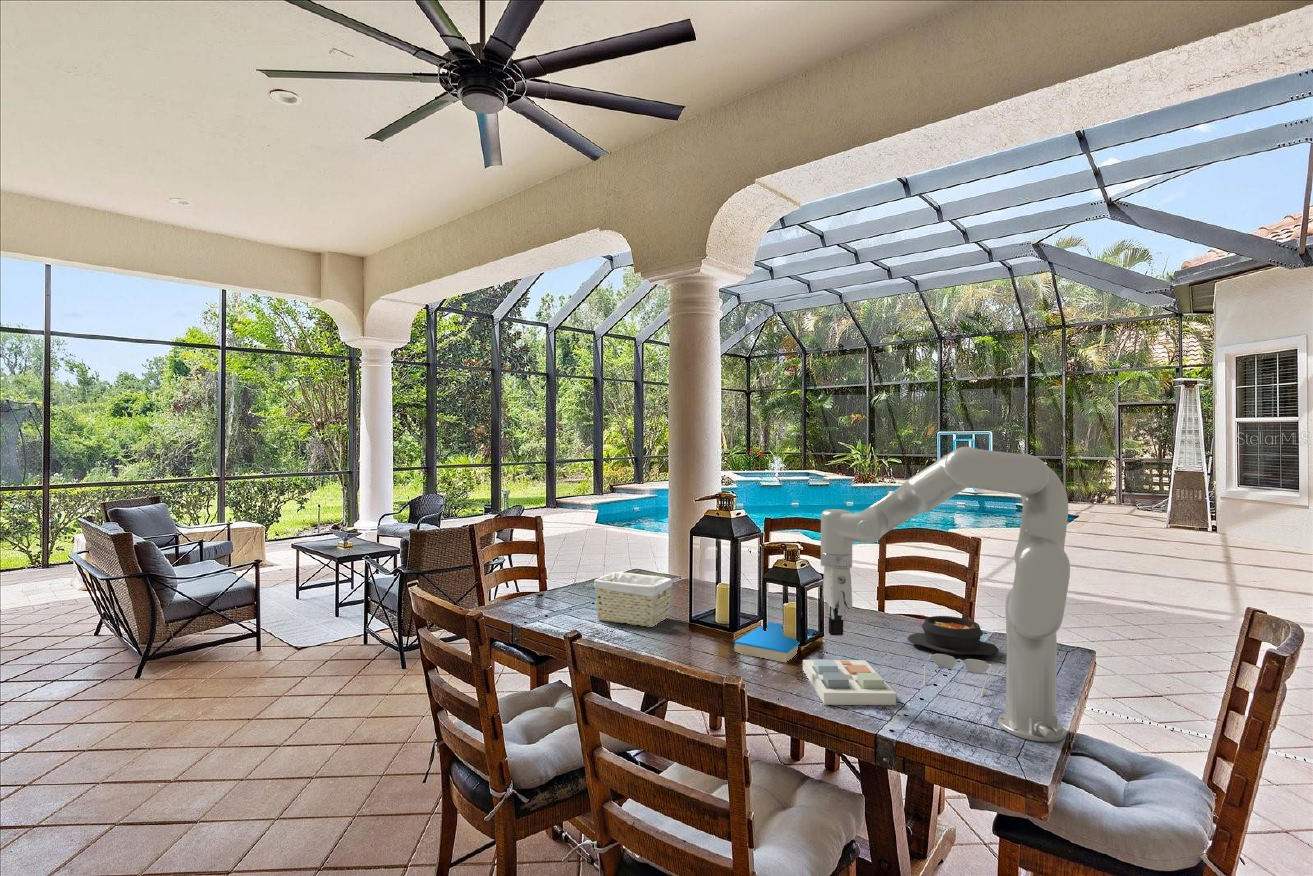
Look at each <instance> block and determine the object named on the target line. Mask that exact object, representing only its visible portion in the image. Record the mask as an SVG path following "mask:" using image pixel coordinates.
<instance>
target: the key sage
mask: <svg viewBox="0 0 1313 876" xmlns="http://www.w3.org/2000/svg"><path fill="white" fill-rule="evenodd" d="M884 681H885V680H884V678H883V677H882V676H881V675H880V674H879V673H878V672H877V673H857V683H858V684H859V686H860V687H861V688H862V689H884Z"/></svg>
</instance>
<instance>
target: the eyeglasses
mask: <svg viewBox="0 0 1313 876" xmlns="http://www.w3.org/2000/svg"><path fill="white" fill-rule="evenodd" d="M931 657H932V660H933V662H934V664H935V665H938V666H943V667H942V668H945V667H948V668H947V669H950V668H952V669H954V667H955V666H956V664H957V661H958V662H959V661H960V662H963V667H964V668H965V670H966V671H967V672H969V673H975V674H980V673H981V675H984V674H986V672H987V671H988V669H991V667H992V664H991V663H988V662H987V661H984V660H981V659H980V660H979V659H973V658H967V659H964V660H962V659H961V658H958V659H956V658H955V657H954V656H953V655H949V654H944V653H934V654H929V657H928V658H927V660H926V661H925V663H924V667H923V668H924V670H923V683H922V685H923V684H924V685H925V686H924V687H927V681H926V664H927V662H928V660H929V659H930V658H931ZM990 674H991V671H989V672H988V676H987V677H986V678H985V680H984V683H983V686H982V691H981V693H980V694H981V695H980V697H983V696H984V697H985V689H986V684H987V680H988V679H989V677H990Z"/></svg>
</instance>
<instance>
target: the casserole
mask: <svg viewBox="0 0 1313 876" xmlns="http://www.w3.org/2000/svg"><path fill="white" fill-rule="evenodd" d="M921 628H922V630H923V632H916V633H912V634H910V635H909V636H908V637H907V640H908V641H909V642H910V643H911V644H914V645H917V646H920V647H925V648H928V649H931V650H933V651H935V652H938V653H940V654H944V655H948V656H970V655H979V656H992V655H995V654H997V653H998V652H999V651H1000V650H999V648H998V647H997V646H996V645H995V644H992V643H990V642H987V641H982V640H981V637H982V636H983V635H984V631H983V630H982V629H981V626H980V625H979V623H978V622H975V620H971V619H968V618H967V619H966V618H963V617H959V616H949V615H934V616H933V615H932V616H927V617H926V618H925V619H924V622H923V623H922V624H921Z"/></svg>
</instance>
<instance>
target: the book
mask: <svg viewBox="0 0 1313 876" xmlns="http://www.w3.org/2000/svg"><path fill="white" fill-rule="evenodd" d="M767 622H768V625H767V628H766V631H764V630H763V627H762V625H760V626H758V627H756V628H755V629H753V630H751V631H750V632H749V633H747V634H745V635H743V636H742V637H740V638H738V639H736V640H735V641H734V643H733V647H732V651H733V652H734V651H735V652H738V653H743V654H746V655H745V656H747V655H753V656H756V657H760V658H759V659H761V658H765V659H764V660H766V659H774V660H778V661H782V662H785V663H784V664H787V663H788V662H787V661H789V660H790V659H791V660H793V659H794V658H795V657H796V656H797V655H796V654H797V650H798V645H799V644H800V642H798V641H797V640H795V639H792V638H788V637H785V636H784V634H783V628H782V627H783V625H782V624H783V623H779V622H770V621H767ZM808 629H809V635H808V636H811V635H812V634H813V632H815V631H816V632H817V629H814V628H808ZM816 632H815V633H816ZM795 655H796V656H795ZM794 656H795V657H794ZM756 657H755V658H756ZM793 657H794V658H793ZM792 658H793V659H792ZM791 660H790V661H791ZM790 661H789V662H790ZM786 662H787V663H786Z"/></svg>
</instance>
